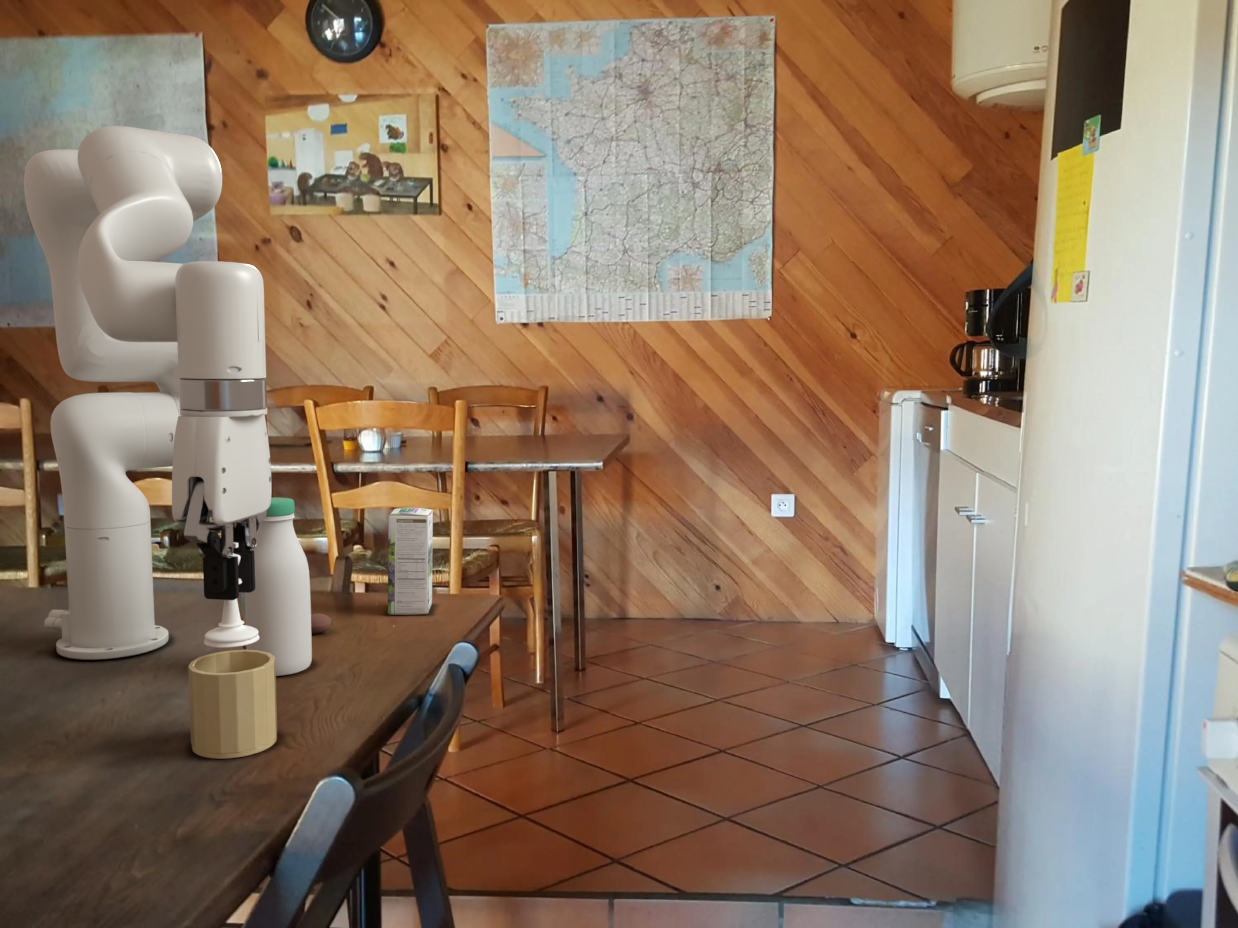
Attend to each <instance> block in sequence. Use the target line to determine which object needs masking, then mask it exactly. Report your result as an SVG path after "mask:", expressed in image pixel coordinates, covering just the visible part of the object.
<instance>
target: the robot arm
mask: <svg viewBox="0 0 1238 928" xmlns="http://www.w3.org/2000/svg"><path fill="white" fill-rule="evenodd" d="M222 188H223V172H222V167H221V163H220V161H219V158H218V156H217V154H216V153H215V151H214V149H213V148H212V147H211V146H210V144H208V143H207V142H205V141H204V140H203V139H201V138H198V137H196V136H193V135H189V134H183V133H177V132H169V131H162V130H155V129H149V128H148V129H147V128H141V127H134V126H125V125H108V126H103V127H99V128H96V129H94V130H93V131H90V132H89V133H88V134H86V136H84V138H83V139H82V140H81V142H80V144H79V146H78V149H72V148H71V149H69V148H67V149H66V148H57V149H56V148H55V149H49V150H48V149H47V150H43V151H40V152H37V153H35V154H34V155H32V156H31V157H30V158H29V160H28V161H27V163H26V166H25V168H24V174H23V192H24V193H23V194H24V199H25V205H26V210H27V214H28V217H29V220H30V223H31V226H32V229H33V231H34V233H35V235H36V238H37V240H38V243H39V245H40V247H41V249H42V251H43V254H44V256H45V259H46V262H47V265H48V269H49V275H50V285H51V297H52V307H53V317H54V328H55V336H56V337H55V339H56V348H57V354H58V358H59V362H60V365H61V368H62V369H63V371H64V373H65V374H66V375H67V376H68V377H70V378H71V379H74V380H76V381H82V382H89V383H90V382H91V383H135V382H136V383H149V382H150V383H155V384H156V386H157V387H158V389H159V391H154V392H153V391H149V392H147V391H146V392H132V391H122V392H120V391H119V392H118V391H117V392H116V391H115V392H91V393H82V394H77V395H73V396H70V397H67V398H66V399H64V400H62V401H61V402H60V403H58V404H57V405H56V407H55V408H54V409H53V411H52V413H51V416H50V435H51V440H52V444H53V449H54V453H55V458H56V462H57V467H58V472H59V478H60V487H61V495H62V507H63V524H64V541H65V542H64V543H65V560H66V561H65V562H66V581H67V584H66V585H67V603H68V609H51V610H50V611H49V613H48V615H47V617H46V618H45V619H44V621H43V626H44V628H45V629H51V630H52V629H54V630H57V629H60V630H61V637H60V638H59V639H58V640H57V641H56V643H55V648H56V653H57V654H58V655H60V656H61V657H64V658H67V659H72V660H84V661H87V660H89V661H90V660H91V661H99V660H100V661H101V660H112V659H120V658H127V657H132V656H137V655H142V654H146V653H149V652H152V651H155V650H156V649H159V648H161V647H163V646H164V645H166V644H167V643H168V642H169V639H170V635H169V630H168V629H167V628H166V627H163V626H161V625H158V624H157V625H156V621H155V597H154V576H153V575H154V572H153V551H152V550H153V547H152V525H151V524H152V523H151V509H150V504H149V502H148V499H147V497H146V496H145V494H144V493H143V492H142V491H141V489H140V488H139V487H138V486H137V485H136V484H134V482H132V481H131V480H130V479H129V478H128V476H127V474H126V473H127V472H129V471H134V470H135V471H136V470H141V469H142V470H143V469H158V468H170V467H171V512H172V519H173V521H174V522H175V523H176V524H178V525H184V530H183V537H184V539H186V540H188V541H190V542H192V543H194V544H196V546H197V547H198V555H199V557H200V558H202V574H203V575H202V576H203V596H204V598H205V599H207V600H221V601H224V600H235V599H237V600H238V599H239V597H240V593H241V592H245V593H250V592H252V591H254V590H255V558H254V550H253V549H255V548H256V546H257V530H258V528H259V525H260V523H261V522H262V521H263V520H264V518H265V517H266V515H267V511H266V510H267V509H268V508H269V506H270V504H271V498H272V490H273V489H272V465H271V464H272V463H271V452H270V442H269V435H268V427H267V421H266V415H268V395H267V394H268V393H267V391H268V390H267V358H266V321H265V320H266V319H265V318H266V316H265V315H266V313H265V287H264V278H263V275H262V273H261V272H260V271H259V269H258V268H256V266H254V265H251V264H248V263H241V262H235V261H218V260H216V261H215V260H213V261H212V260H198V261H189V262H187V263H178V262H163V261H158V260H161V259H164V258H166V257H168V256H170V255H172V254H173V253H176V252H177V251H178V250H180V249H181V248H182V247H183V246H184V245H185V244H186V243H187V241H188V240H189V238H190V237H191V234H192V231H193V227H194V222H195V221H198V220H199V219H201V218H202V217H204V216H206V215H207V214H208V213H209V212H211V211H212V210H213V209H214V207H215V206H216V205H217V203H218V201H219V200H220V197H221V193H222ZM210 519H211V521H210ZM218 532H220V534H219V533H218ZM233 542H235V543H238V548H233ZM250 549H252V550H250ZM233 553H234V554H238V555H240V557H241V559H240V562H239V565H238V557H235V556H233ZM239 578H240V579H241V581H242V583H241V584H239Z"/></svg>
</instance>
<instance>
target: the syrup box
mask: <svg viewBox="0 0 1238 928" xmlns="http://www.w3.org/2000/svg"><path fill="white" fill-rule="evenodd" d="M433 515H434V510H433V509H431V508H423V507H398V508H394V509H393V510H392V511H391V513H390V514H389V515H388V518H387V519H388V520H387V526H388V527H387V529H388V530H387V533H388V534H387V614H388V615H390V616H394V615H395V616H397V615H398V616H399V615H400V616H402V615H404V616H405V615H409V616H411V615H428V614H429V613H430V610H431V607H432V605H433V561H434V559H433V558H434V557H433V555H434V554H433V553H434V551H433V550H434V549H433V548H434V547H433V546H434V545H433V544H434V539H433V536H434V535H433V534H434V533H433V532H434V531H433V530H434V527H433V526H434V522H433V519H434V516H433Z"/></svg>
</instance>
